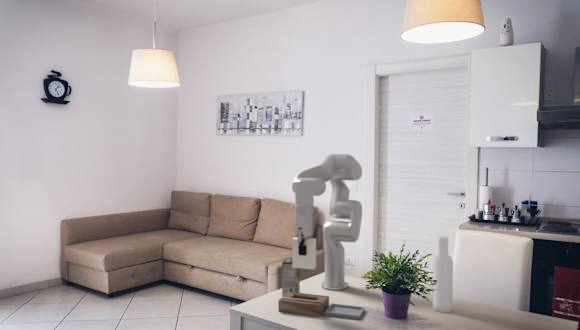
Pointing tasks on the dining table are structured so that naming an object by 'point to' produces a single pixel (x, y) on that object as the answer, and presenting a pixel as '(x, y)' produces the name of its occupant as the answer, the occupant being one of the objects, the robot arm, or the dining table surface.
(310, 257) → the white block
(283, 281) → the tall grey box
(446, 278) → the bottle
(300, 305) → the brown wooden flat box
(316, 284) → the dining table surface
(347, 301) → the dining table surface
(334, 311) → the grey tray
